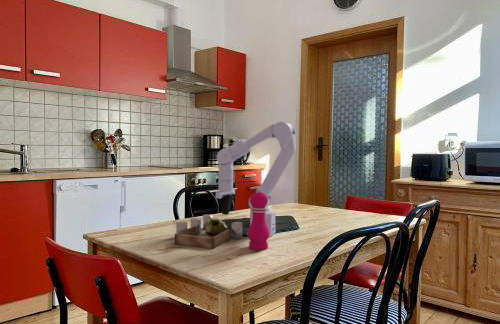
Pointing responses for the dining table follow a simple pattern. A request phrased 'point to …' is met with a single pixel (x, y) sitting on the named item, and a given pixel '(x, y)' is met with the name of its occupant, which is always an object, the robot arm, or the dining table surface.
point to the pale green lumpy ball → (215, 226)
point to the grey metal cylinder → (205, 218)
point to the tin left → (237, 230)
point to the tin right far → (181, 226)
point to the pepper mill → (258, 222)
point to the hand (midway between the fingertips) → (225, 214)
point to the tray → (200, 239)
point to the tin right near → (196, 224)
